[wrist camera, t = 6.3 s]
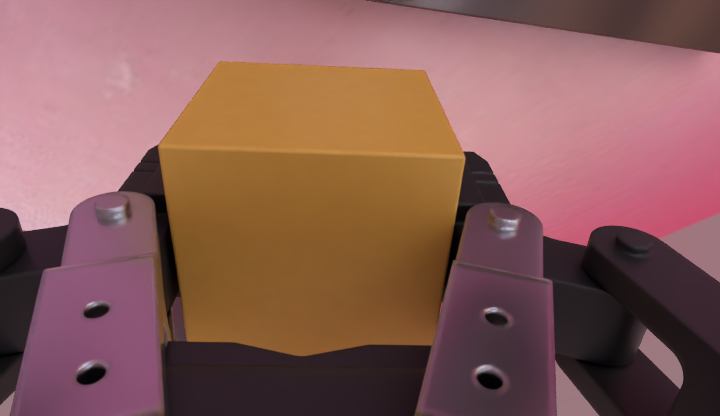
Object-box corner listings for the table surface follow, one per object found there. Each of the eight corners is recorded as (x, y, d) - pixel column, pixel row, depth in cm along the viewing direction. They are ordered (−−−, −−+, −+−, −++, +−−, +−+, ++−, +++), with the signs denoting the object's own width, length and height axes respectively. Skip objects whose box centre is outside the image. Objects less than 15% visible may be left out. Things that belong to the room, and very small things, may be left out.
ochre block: (232, 234, 14) (190, 368, 10) (218, 60, 12) (155, 144, 8) (406, 240, 14) (430, 371, 10) (425, 69, 12) (467, 156, 8)
